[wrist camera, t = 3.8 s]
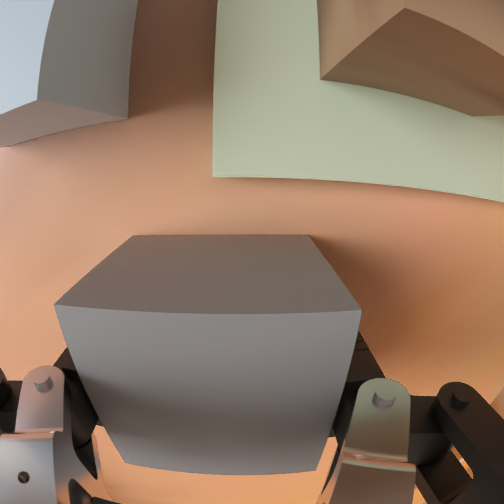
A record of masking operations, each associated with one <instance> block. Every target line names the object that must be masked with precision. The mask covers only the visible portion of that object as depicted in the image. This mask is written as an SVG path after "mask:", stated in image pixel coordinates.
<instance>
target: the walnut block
mask: <svg viewBox="0 0 504 504" xmlns="http://www.w3.org/2000/svg"><path fill="white" fill-rule="evenodd" d="M317 14H318V33H319V60H320V80H326V81H334V82H341V83H347V84H353V85H359V86H365V87H370V88H375V89H380V90H384V91H389V92H393V93H398V94H402V95H406V96H410V97H413V98H417V99H421V100H424V101H428V102H431V103H434V104H437V105H441V106H444V107H447V108H450V109H453V110H456V111H458V112H461V113H464V114H467V115H469V116H472V117H474V116H504V0H317Z"/></svg>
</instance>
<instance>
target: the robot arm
mask: <svg viewBox="0 0 504 504" xmlns="http://www.w3.org/2000/svg"><path fill="white" fill-rule="evenodd" d="M96 425H99V426H103V424H102V422H101V420H100V419H99V417H98V415H97V413H96V411H95V409H94V407H93V405H92V403H91V401H90V399H89V397H88V394H87V392H86V390H85V388H84V386H83V383H82V381H81V379H80V377H79V374H78V372H77V369H76V367H75V365H74V362H73V360H72V357H71V354H70V352H69V349H68V346H67V348H66V349H65V350H64V352H63V353H62V354H61V356H60V357H59V358H58V360H57V361H56V362H55V364H54V365H53V366H41V367H38V368H35V369H33V370H32V371H30V372H29V373H28V374H27V375H26V376H25V378H24V380H23V381H7V379H6V377H5V375H4V373H3V371H2V370H1V368H0V504H120V503H116V502H113V501H112V499H111V497H110V495H109V493H108V492H107V489H106V487H105V484H104V480H103V475H102V470H101V465H100V459H99V453H98V447H97V440H96V436H95V434H94V432H93V431H94V428H95V426H96ZM335 436H336V440H337V443H338V445H337V448H336V450H335V453H334V456H333V459H332V462H331V465H330V468H329V471H328V473H327V476H326V479H325V482H324V484H323V487H322V490H321V492H320V495H319V497H318V500H317V502H316V504H412V501H413V494H414V486H415V484H416V486H417V487H418V489H419V491H420V492H421V494H422V496H423V497H424V499H425V501H426V502H427V504H504V420H503V419H502V417H501V416H500V415H499V414H498V413H497V412H496V411H495V410H494V409H493V408H492V407H491V406H490V405H489V404H488V403H487V401H486V400H485V399H484V398H483V397H482V396H481V395H480V394H479V393H478V392H477V391H476V390H475V389H474V388H472V387H471V386H469V385H467V384H465V383H461V382H450V383H447V384H445V385H443V386H442V387H441V389H440V390H439V392H438V394H437V396H412V395H409V392H408V391H407V389H406V388H405V387H404V386H403V385H401V384H400V383H398V382H396V381H394V380H391V379H387V378H385V376H384V374H383V372H382V371H381V369H380V367H379V365H378V364H377V362H376V360H375V358H374V356H373V355H372V353H371V351H370V350H369V348H368V346H367V344H366V342H364V339H363V337H362V336H361V334H360V332H359V330H358V333H357V338H356V342H355V346H354V351H353V355H352V359H351V363H350V367H349V370H348V374H347V378H346V381H345V385H344V389H343V392H342V395H341V399H340V402H339V405H338V409H337V412H336V415H335V418H334V421H333V424H332V427H331V430H330V433H329V436H328V437H335ZM453 446H454V447H455V448H456V449H457V451H458V452H459V453H460V455H461V456H462V457H463V459H464V460H465V461H466V463H467V464H468V465H469V467H470V468H471V470H472V472H473V479H472V478H471V477H470V476H469V474H468V473H467V471H466V470H465V469H464V467H463V466H462V465H461V463H460V462H459V460H458V459H457V458H456V456H455V455H454V454H453V452H452V451H451V449H452V448H453Z"/></svg>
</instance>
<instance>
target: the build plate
mask: <svg viewBox="0 0 504 504" xmlns="http://www.w3.org/2000/svg"><path fill="white" fill-rule="evenodd" d="M212 177H263V178H297V179H318V180H334V181H349V182H361V183H373V184H383V185H393V186H402V187H410V188H419V189H426V190H434V191H441V192H448V193H454V194H460V195H466V196H472V197H478V198H484V199H489V200H494V201H499V202H504V116H474V117H472V116H469V115H467V114H464V113H461V112H458V111H456V110H453V109H450V108H447V107H444V106H441V105H437V104H434V103H431V102H428V101H424V100H421V99H417V98H413V97H410V96H406V95H402V94H398V93H393V92H389V91H384V90H380V89H375V88H370V87H365V86H359V85H353V84H347V83H341V82H334V81H326V80H320V60H319V33H318V14H317V0H218V4H217V19H216V38H215V60H214V89H213V149H212Z"/></svg>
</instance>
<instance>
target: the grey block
mask: <svg viewBox="0 0 504 504" xmlns="http://www.w3.org/2000/svg"><path fill="white" fill-rule="evenodd" d="M54 307H55V311H56V314H57V317H58V320H59V323H60V326H61V329H62V332H63V335H64V338H65V341H66V344H67V346H68V349H69V352H70V354H71V357H72V360H73V362H74V365H75V367H76V369H77V372H78V374H79V377H80V379H81V381H82V383H83V386H84V388H85V390H86V392H87V394H88V397H89V399H90V401H91V403H92V405H93V407H94V409H95V411H96V413H97V415H98V417H99V419H100V420H101V422H102V424H103V426H104V428H105V430H106V431H107V433H108V435H109V437H110V438H111V440H112V442H113V444H114V445H115V447H116V449H117V450H118V452H119V454H120V455H121V457H122V458H123V460H124V461H125V463H128V464H133V465H138V466H144V467H150V468H156V469H163V470H170V471H178V472H188V473H199V474H215V475H270V474H286V473H298V472H308V471H316V468H317V466H318V463H319V461H320V458H321V455H322V453H323V450H324V447H325V444H326V442H327V439H328V436H329V433H330V430H331V427H332V424H333V421H334V418H335V415H336V412H337V409H338V405H339V402H340V399H341V395H342V392H343V389H344V385H345V381H346V378H347V374H348V370H349V367H350V363H351V359H352V355H353V351H354V346H355V342H356V338H357V333H358V329H359V324H360V319H361V315H362V309H361V307H360V306H359V304H358V303H357V302H356V300H355V299H354V297H353V296H352V294H351V293H350V292H349V290H348V289H347V287H346V286H345V284H344V283H343V282H342V280H341V279H340V277H339V276H338V275H337V273H336V272H335V270H334V269H333V268H332V266H331V265H330V264H329V262H328V261H327V260H326V258H325V257H324V255H323V254H322V253H321V251H320V250H319V249H318V247H317V246H316V245H315V243H314V242H313V241H312V239H311V238H310V237H309V235H149V236H132V237H131V238H129V239H128V240H127V241H126V242H124V243H123V244H122V245H121V246H119V247H118V248H117V249H116V250H115V251H113V252H112V253H111V254H110V255H109V256H107V257H106V258H105V259H104V260H103V261H102V262H100V263H99V264H98V265H97V266H96V267H95V268H93V269H92V270H91V271H90V272H89V273H88V274H86V275H85V276H84V277H83V278H82V279H81V280H80V281H79V282H78V283H76V284H75V285H74V286H73V287H72V288H71V289H70V290H69V291H68V292H67V293H65V294H64V295H63V296H62V297H61V298H60V299H59V300H58V301H57V302H56V303H55V304H54Z"/></svg>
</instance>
